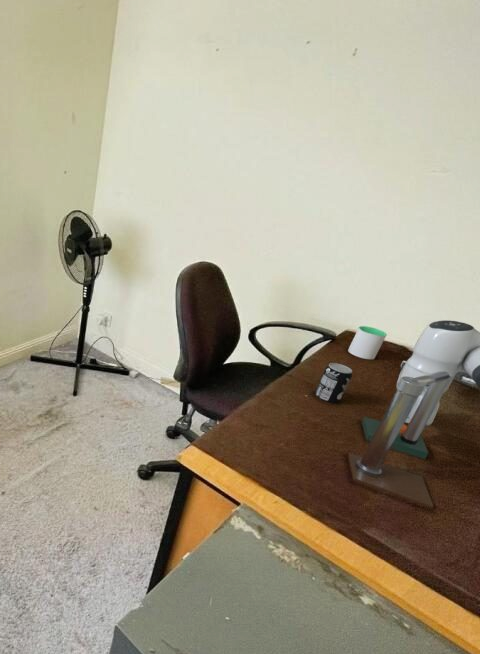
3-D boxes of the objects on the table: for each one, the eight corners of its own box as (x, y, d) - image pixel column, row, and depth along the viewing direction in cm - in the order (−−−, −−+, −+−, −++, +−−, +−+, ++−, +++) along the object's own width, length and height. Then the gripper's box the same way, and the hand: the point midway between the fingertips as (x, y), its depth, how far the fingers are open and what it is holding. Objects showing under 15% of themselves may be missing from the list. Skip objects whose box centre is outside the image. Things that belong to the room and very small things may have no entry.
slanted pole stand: (419, 481, 103) (469, 397, 93) (430, 511, 95) (487, 422, 85) (347, 457, 111) (386, 377, 101) (352, 482, 103) (395, 398, 92)
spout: (402, 434, 108) (439, 366, 99) (421, 444, 104) (461, 374, 96) (362, 447, 103) (397, 376, 95) (381, 458, 100) (419, 386, 91)
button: (404, 428, 116) (406, 424, 115) (406, 435, 113) (409, 430, 113) (386, 423, 118) (389, 419, 117) (389, 430, 115) (391, 425, 115)
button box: (416, 438, 118) (422, 427, 116) (425, 459, 110) (431, 447, 109) (361, 422, 124) (366, 411, 123) (366, 440, 117) (371, 429, 115)
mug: (354, 344, 169) (365, 322, 165) (380, 352, 163) (391, 330, 159) (345, 352, 163) (356, 329, 159) (371, 361, 157) (383, 337, 153)
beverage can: (336, 396, 136) (351, 366, 131) (340, 407, 131) (356, 375, 126) (312, 390, 139) (325, 360, 134) (315, 400, 134) (329, 369, 129)
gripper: (454, 401, 99) (430, 445, 104) (432, 365, 114) (411, 405, 120) (418, 392, 103) (396, 435, 108) (401, 358, 118) (382, 398, 123)
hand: (404, 419), depth 114 cm, fingers closed
